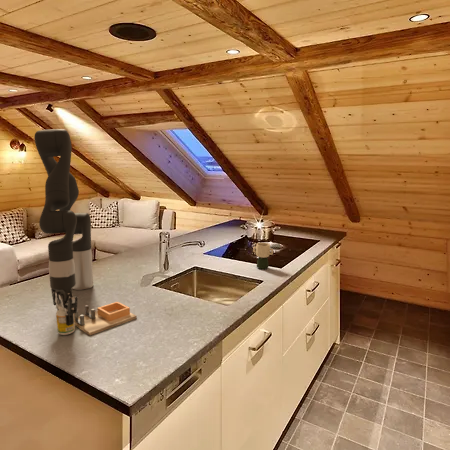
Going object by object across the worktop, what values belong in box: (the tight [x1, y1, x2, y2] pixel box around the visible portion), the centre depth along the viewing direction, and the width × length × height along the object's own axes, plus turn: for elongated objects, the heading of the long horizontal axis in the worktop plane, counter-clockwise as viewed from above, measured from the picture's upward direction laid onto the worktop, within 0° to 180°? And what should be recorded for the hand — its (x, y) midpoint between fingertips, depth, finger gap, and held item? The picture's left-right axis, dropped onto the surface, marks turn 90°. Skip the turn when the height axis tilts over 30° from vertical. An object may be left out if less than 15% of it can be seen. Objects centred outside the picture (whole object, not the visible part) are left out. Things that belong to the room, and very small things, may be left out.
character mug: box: [252, 242, 274, 270], centre depth 193 cm, size 11×7×13 cm, turn 64°
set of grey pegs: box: [74, 304, 96, 326], centre depth 128 cm, size 7×6×4 cm
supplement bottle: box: [55, 303, 76, 336], centre depth 120 cm, size 5×5×10 cm
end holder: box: [96, 301, 131, 321], centre depth 133 cm, size 8×8×2 cm
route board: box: [75, 309, 138, 336], centre depth 130 cm, size 14×18×1 cm
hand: (65, 321), depth 120 cm, fingers closed on supplement bottle, 5 cm apart
